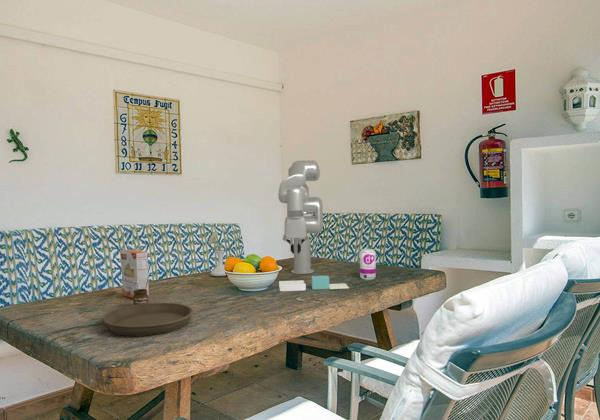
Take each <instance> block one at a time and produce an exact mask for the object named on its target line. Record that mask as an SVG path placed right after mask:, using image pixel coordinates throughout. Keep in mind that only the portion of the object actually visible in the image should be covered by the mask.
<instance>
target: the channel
mask: <svg viewBox="0 0 600 420" xmlns="http://www.w3.org/2000/svg"><path fill="white" fill-rule="evenodd" d="M306 285H307V284H306V283H305V280H299V279H298V280H279V281H278V287H279V291H280V292H295V291H296V292H298V291H306V290H307V288H306V287H307V286H306Z"/></svg>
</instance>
